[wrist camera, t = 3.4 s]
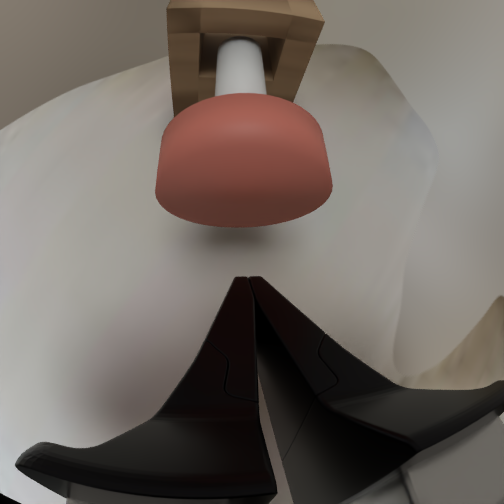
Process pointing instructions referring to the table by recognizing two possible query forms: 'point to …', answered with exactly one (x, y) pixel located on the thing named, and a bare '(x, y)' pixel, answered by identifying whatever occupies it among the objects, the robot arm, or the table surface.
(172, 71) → the sleeve
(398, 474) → the robot arm
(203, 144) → the plunger
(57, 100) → the table surface
